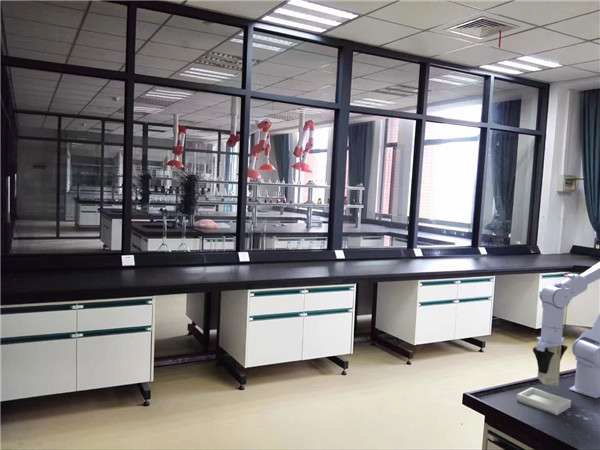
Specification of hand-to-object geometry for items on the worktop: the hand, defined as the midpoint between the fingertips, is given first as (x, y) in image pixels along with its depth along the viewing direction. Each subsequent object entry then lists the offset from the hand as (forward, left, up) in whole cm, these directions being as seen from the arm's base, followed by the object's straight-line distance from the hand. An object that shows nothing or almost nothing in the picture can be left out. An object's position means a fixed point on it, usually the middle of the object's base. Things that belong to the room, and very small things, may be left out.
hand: (548, 370), depth 149 cm
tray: (+9, +3, -7) cm, 12 cm away
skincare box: (0, 0, -4) cm, 4 cm away
